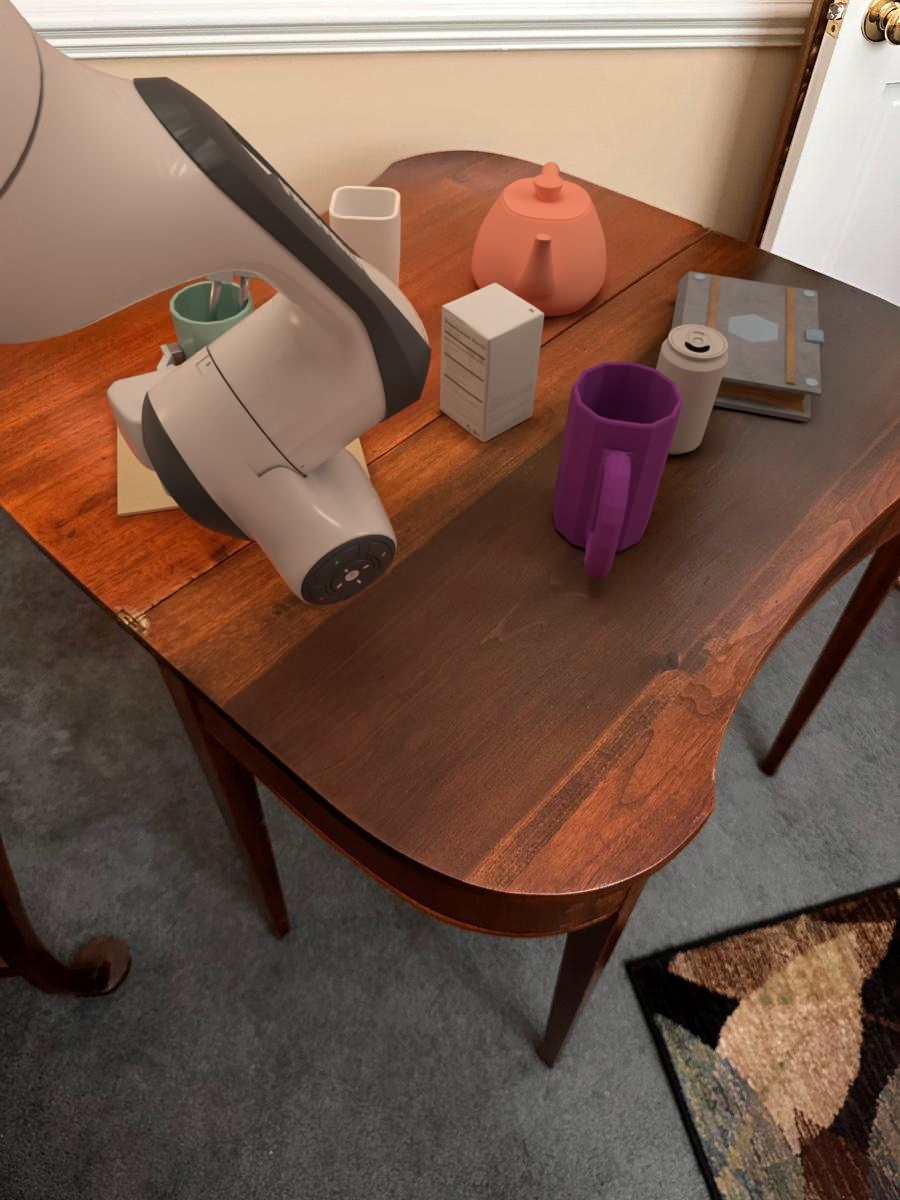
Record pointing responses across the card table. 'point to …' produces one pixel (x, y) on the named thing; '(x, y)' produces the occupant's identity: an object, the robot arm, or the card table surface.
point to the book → (759, 341)
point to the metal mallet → (244, 288)
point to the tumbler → (205, 315)
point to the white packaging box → (489, 360)
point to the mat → (145, 490)
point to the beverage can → (693, 378)
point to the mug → (613, 458)
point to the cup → (369, 225)
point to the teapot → (543, 244)
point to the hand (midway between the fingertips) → (216, 339)
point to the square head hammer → (217, 292)
